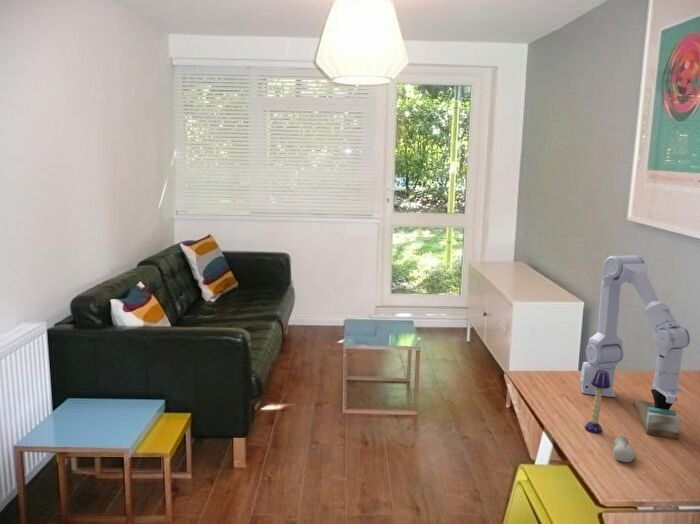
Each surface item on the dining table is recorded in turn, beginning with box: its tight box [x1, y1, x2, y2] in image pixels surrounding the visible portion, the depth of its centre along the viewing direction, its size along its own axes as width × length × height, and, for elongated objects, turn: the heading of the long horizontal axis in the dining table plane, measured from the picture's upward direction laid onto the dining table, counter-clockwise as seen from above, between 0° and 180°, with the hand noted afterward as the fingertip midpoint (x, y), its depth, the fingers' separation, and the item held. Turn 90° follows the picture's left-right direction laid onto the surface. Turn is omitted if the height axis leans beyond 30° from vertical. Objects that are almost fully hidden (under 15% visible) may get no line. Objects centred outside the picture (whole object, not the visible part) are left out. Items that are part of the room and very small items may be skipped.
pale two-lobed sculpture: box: [612, 435, 636, 463], centre depth 143 cm, size 4×8×5 cm
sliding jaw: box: [646, 407, 677, 422], centre depth 157 cm, size 6×2×4 cm, turn 75°
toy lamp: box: [584, 369, 610, 434], centre depth 155 cm, size 5×5×17 cm
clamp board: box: [632, 399, 682, 439], centre depth 162 cm, size 8×19×6 cm, turn 165°
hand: (660, 417), depth 159 cm, fingers closed
